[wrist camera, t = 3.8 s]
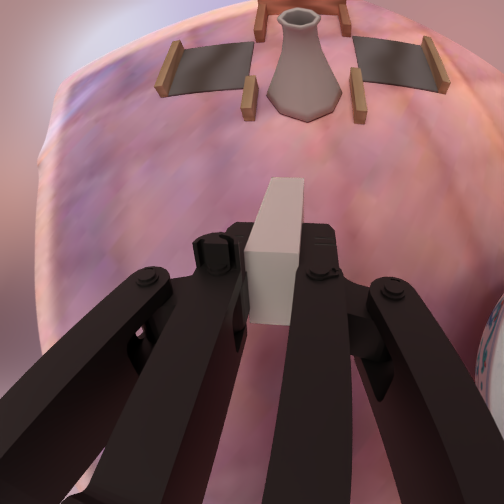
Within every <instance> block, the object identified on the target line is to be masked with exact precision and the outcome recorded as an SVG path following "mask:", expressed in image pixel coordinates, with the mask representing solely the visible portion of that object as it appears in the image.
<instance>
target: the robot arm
mask: <svg viewBox="0 0 504 504" xmlns="http://www.w3.org/2000/svg"><path fill="white" fill-rule="evenodd" d="M192 244H193V250H194V256H195V261H196V267H197V268H196V270H195V271H194V273H193V275H191V276H187V277H180V278H173V279H170V275H169V273H168V271H167V270H166V269H164V268H162V267H155V266H152V267H145V268H143V269H140V270H138V271H136V272H135V273H133V274H132V275H130V276H129V277H128V278H127V279H126V280H125V281H123V282H122V283H121V284H120V285H119V286H118V287H117V288H115V289H114V290H113V291H112V292H111V293H110V294H109V295H108V296H106V297H105V298H104V299H103V300H102V301H101V302H100V303H99V304H97V305H96V306H95V307H94V308H93V309H92V310H91V311H90V312H89V313H88V314H86V315H85V316H84V317H83V318H82V319H81V320H80V321H79V322H78V323H77V324H76V325H74V326H73V327H72V328H71V329H70V330H69V331H68V332H67V333H66V334H65V335H64V336H63V337H62V338H61V339H60V340H59V341H58V342H56V343H55V344H54V345H53V346H52V347H51V348H50V349H49V350H48V351H47V352H46V353H45V354H44V355H43V356H42V357H41V358H40V359H39V360H38V361H37V362H36V363H35V364H34V365H33V366H32V367H31V368H30V369H29V370H28V371H27V372H26V373H25V374H24V375H23V376H22V377H21V378H20V379H19V380H18V381H17V382H16V383H15V384H14V385H13V386H12V387H11V388H10V389H9V391H8V392H7V393H6V394H5V395H4V396H3V397H2V398H1V399H0V504H60V503H61V504H202V502H203V499H204V495H205V492H206V488H207V484H208V481H209V477H210V474H211V470H212V466H213V463H214V459H215V455H216V452H217V448H218V444H219V440H220V437H221V433H222V429H223V426H224V422H225V418H226V414H227V411H228V407H229V403H230V399H231V395H232V392H233V388H234V384H235V380H236V376H237V372H238V368H239V365H240V361H241V357H242V353H243V349H244V345H245V341H246V337H247V324H246V322H247V318H248V314H249V318H250V323H257V324H271V325H286V326H290V327H289V336H288V343H287V351H286V359H285V366H284V373H283V380H282V387H281V394H280V401H279V407H278V414H277V420H276V426H275V432H274V438H273V444H272V450H271V456H270V462H269V467H268V473H267V478H266V483H265V489H264V494H263V499H262V504H350V495H351V475H352V382H351V360H350V355H353V356H354V360H355V363H356V366H357V368H358V371H359V374H360V376H361V379H362V382H363V385H364V388H365V390H366V393H367V396H368V399H369V402H370V405H371V407H372V410H373V413H374V416H375V419H376V422H377V425H378V428H379V431H380V434H381V437H382V440H383V443H384V446H385V450H386V453H387V456H388V459H389V462H390V466H391V469H392V472H393V475H394V479H395V482H396V486H397V489H398V493H399V496H400V500H401V503H402V504H504V439H503V437H502V435H501V433H500V431H499V429H498V427H497V424H496V422H495V420H494V418H493V416H492V414H491V413H490V411H489V409H488V407H487V405H486V403H485V401H484V399H483V397H482V395H481V394H480V392H479V390H478V388H477V386H476V385H475V383H474V381H473V379H472V377H471V376H470V374H469V372H468V371H467V369H466V367H465V365H464V364H463V362H462V360H461V359H460V357H459V356H458V354H457V352H456V351H455V349H454V347H453V346H452V344H451V343H450V341H449V339H448V338H447V336H446V335H445V333H444V332H443V330H442V329H441V327H440V326H439V324H438V323H437V321H436V319H435V318H434V317H433V315H432V314H431V312H430V311H429V309H428V308H427V306H426V305H425V303H424V302H423V300H422V299H421V298H420V296H419V295H418V293H417V292H416V291H415V289H414V288H413V287H412V286H411V285H410V284H409V283H407V282H406V281H404V280H402V279H399V278H395V277H382V278H378V279H376V280H374V281H373V282H372V283H371V285H370V287H366V286H362V285H358V284H355V283H353V282H351V281H349V280H347V279H346V278H345V277H344V276H343V273H342V270H341V269H340V268H339V263H338V254H337V246H336V237H335V230H334V229H333V228H332V227H331V226H330V225H329V224H317V223H304V178H280V177H272V178H271V180H270V183H269V186H268V188H267V191H266V193H265V196H264V199H263V201H262V204H261V207H260V209H259V212H258V215H257V217H256V220H255V222H236V223H234V224H233V225H231V226H230V227H229V228H228V229H227V231H226V232H225V233H223V232H218V233H210V234H206V235H203V236H201V237H199V238H197V239H196V240H195V241H194V242H193V243H192ZM140 327H142V329H143V333H142V334H141V335H139V336H138V337H137V336H136V334H135V333H136V332H137V330H138V329H139V328H140ZM105 446H106V447H105ZM104 447H105V449H104ZM103 449H104V451H103V454H102V456H101V458H100V460H99V462H98V465H97V467H96V469H95V471H94V474H93V476H92V478H91V480H90V483H89V484H88V486H87V488H86V489H85V490H84V491H82V492H80V493H77V494H74V495H71V496H69V497H67V498H66V499H65V500H64V501H62V500H63V499H64V498H65V496H66V495H67V494H68V493H69V491H70V490H71V489H72V488H73V486H74V485H75V484H76V483H77V481H78V480H79V479H80V478H81V476H82V475H83V474H84V473H85V471H86V470H87V469H88V468H89V466H90V465H91V464H92V463H93V461H94V460H95V459H96V458H97V456H98V455H99V454H100V452H101V451H102V450H103Z"/></svg>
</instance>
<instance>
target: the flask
mask: <svg viewBox="0 0 504 504" xmlns="http://www.w3.org/2000/svg"><path fill="white" fill-rule="evenodd" d="M277 20H278V22H279V23H280V24H281V25H282V28H283V45H282V52H281V55H280V58H279V61H278V64H277V67H276V70H275V73H274V76H273V78H272V81H271V84H270V86H269V89H268V92H267V95H266V96H267V97H268V98H269V100H270V101H271V102H272V103H273V105H274V106H275V107H276V109H277V110H278V111H279V113H281V114H284V115H287V116H291V117H294V118H297V119H300V120H303V121H306V122H309V121H311V120H314V119H316V118H318V117H321V116H323V115H326V114H328V113H330V112H333V111H334V109H335V107H336V105H337V103H338V101H339V99H340V97H341V95H342V91H341V89H340V86H339V84H338V82H337V80H336V78H335V76H334V74H333V72H332V70H331V68H330V66H329V64H328V62H327V60H326V58H325V56H324V54H323V51H322V49H321V45H320V41H319V38H318V32H317V24H318V23H319V22H320V20H321V16H319V15H318V14H317V13H315V12H314V11H313V10H309V9H304V8H298V7H296V8H293V9H289V10H286V11H283V12H282V13H281V14H280V15H279V17H278V18H277Z"/></svg>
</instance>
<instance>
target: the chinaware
mask: <svg viewBox="0 0 504 504" xmlns="http://www.w3.org/2000/svg"><path fill="white" fill-rule="evenodd" d="M475 385H476V386H477V388H478V390H479V392H480V394H481V395H482V397H483V399H484V401H485V403H486V405H487V407H488V409H489V411H490V413H491V414H492V416H493V418H494V420H495V422H496V424H497V427H498V429H499V431H500V433H501V435H502V437H503V439H504V293H503V295H502V296H501V298H500V299H499V301H498V302H497V304H496V306H495V307H494V309H493V311H492V313H491V315H490V317H489V319H488V321H487V324H486V326H485V329H484V331H483V334H482V338H481V341H480V345H479V349H478V354H477V360H476V369H475Z"/></svg>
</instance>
